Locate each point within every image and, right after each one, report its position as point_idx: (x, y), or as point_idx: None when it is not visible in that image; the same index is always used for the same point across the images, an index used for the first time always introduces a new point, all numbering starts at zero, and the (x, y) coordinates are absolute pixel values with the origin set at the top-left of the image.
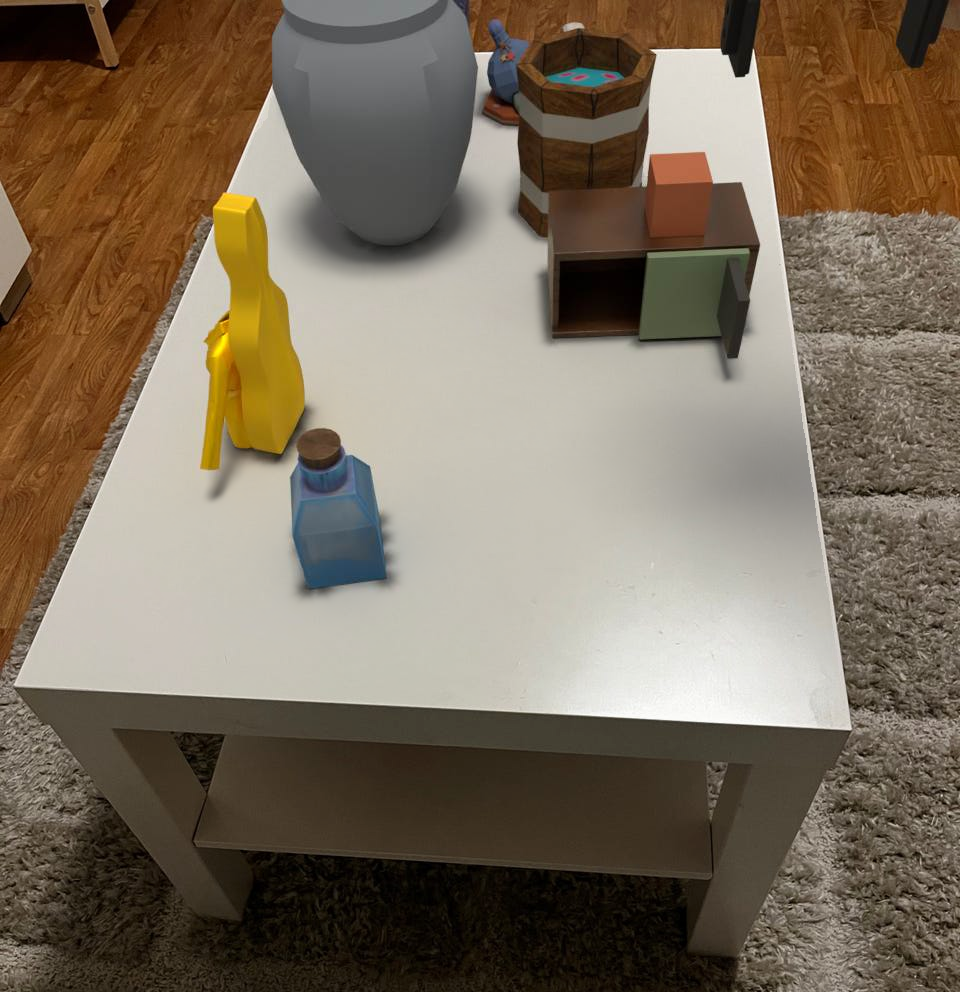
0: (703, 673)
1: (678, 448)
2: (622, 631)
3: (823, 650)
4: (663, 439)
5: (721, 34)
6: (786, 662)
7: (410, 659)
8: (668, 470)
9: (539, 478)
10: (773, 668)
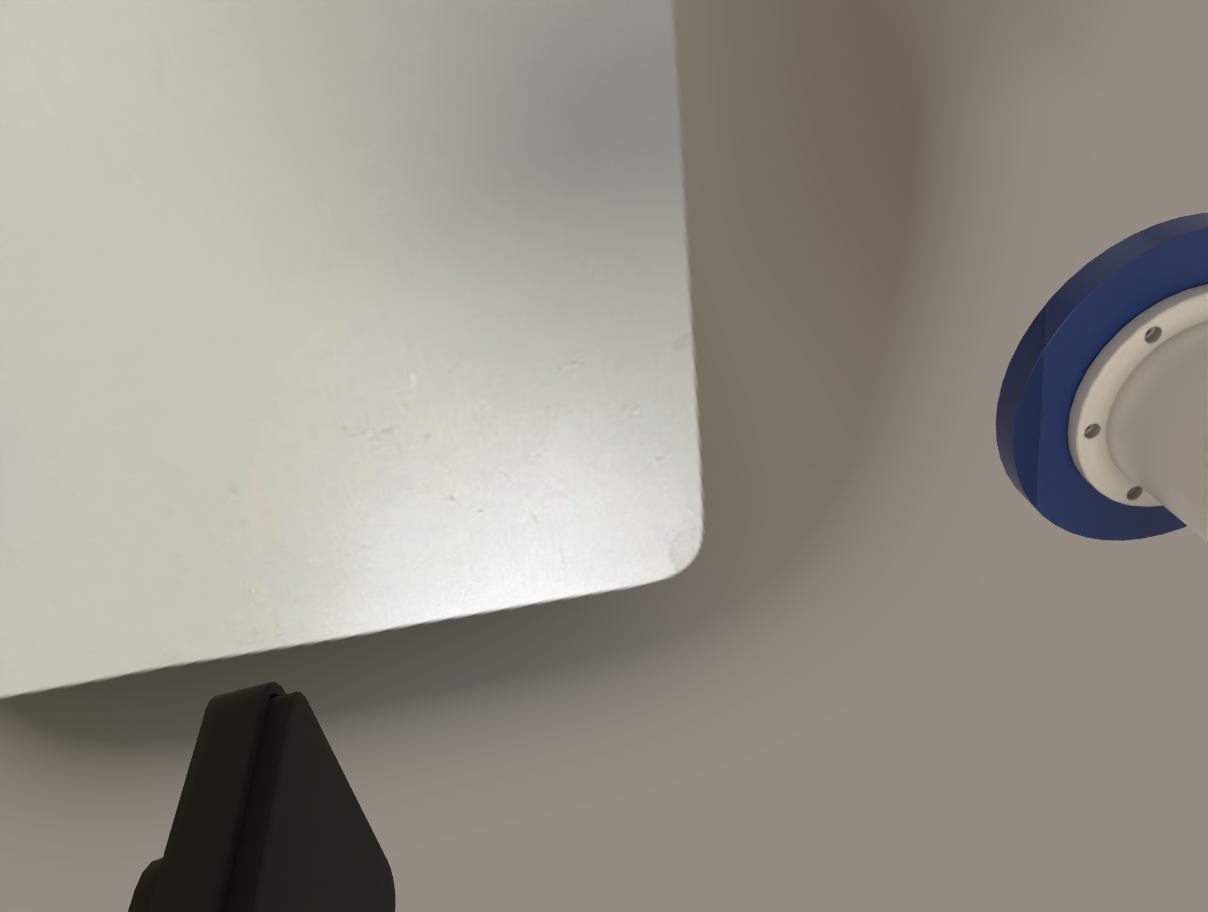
0: (524, 546)
1: (406, 55)
2: (393, 509)
3: (693, 474)
4: (366, 29)
5: (136, 894)
6: (640, 504)
7: (83, 623)
8: (397, 132)
9: (124, 208)
10: (622, 517)
